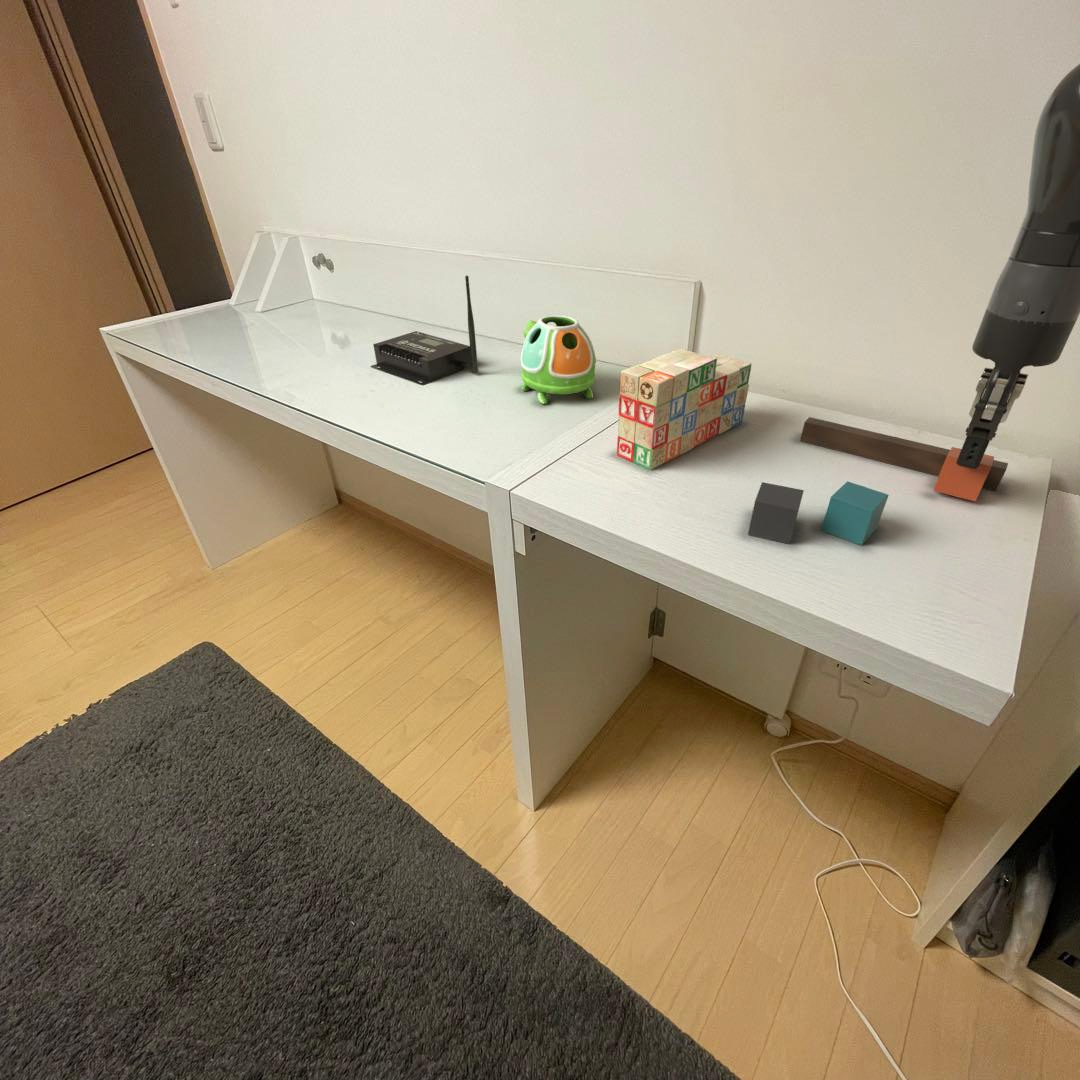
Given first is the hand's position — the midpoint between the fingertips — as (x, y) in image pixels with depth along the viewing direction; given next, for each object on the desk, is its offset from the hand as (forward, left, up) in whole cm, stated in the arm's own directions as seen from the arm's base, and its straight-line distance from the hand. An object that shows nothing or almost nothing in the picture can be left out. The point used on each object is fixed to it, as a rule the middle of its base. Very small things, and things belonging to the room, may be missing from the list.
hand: (967, 464), depth 70 cm
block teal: (+8, +13, -5) cm, 16 cm away
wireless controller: (+87, +3, -5) cm, 87 cm away
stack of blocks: (+34, +3, -5) cm, 35 cm away
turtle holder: (+61, -2, -5) cm, 61 cm away
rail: (+8, -7, -5) cm, 12 cm away
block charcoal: (+15, +18, -5) cm, 24 cm away
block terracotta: (0, -3, -5) cm, 5 cm away
